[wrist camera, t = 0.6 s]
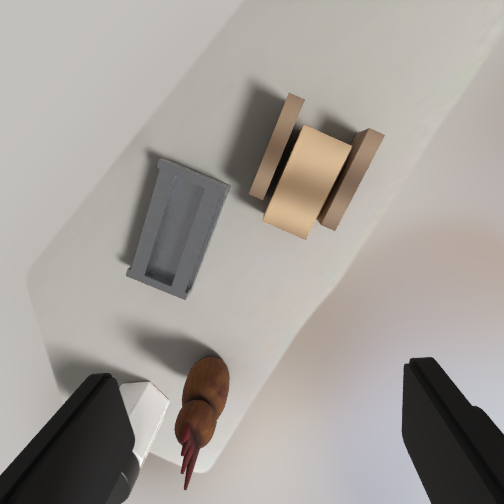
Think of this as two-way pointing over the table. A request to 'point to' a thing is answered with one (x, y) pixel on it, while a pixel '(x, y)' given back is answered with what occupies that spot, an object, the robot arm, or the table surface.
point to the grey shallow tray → (177, 228)
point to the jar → (139, 432)
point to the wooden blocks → (346, 179)
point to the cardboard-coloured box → (305, 181)
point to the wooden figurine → (200, 409)
